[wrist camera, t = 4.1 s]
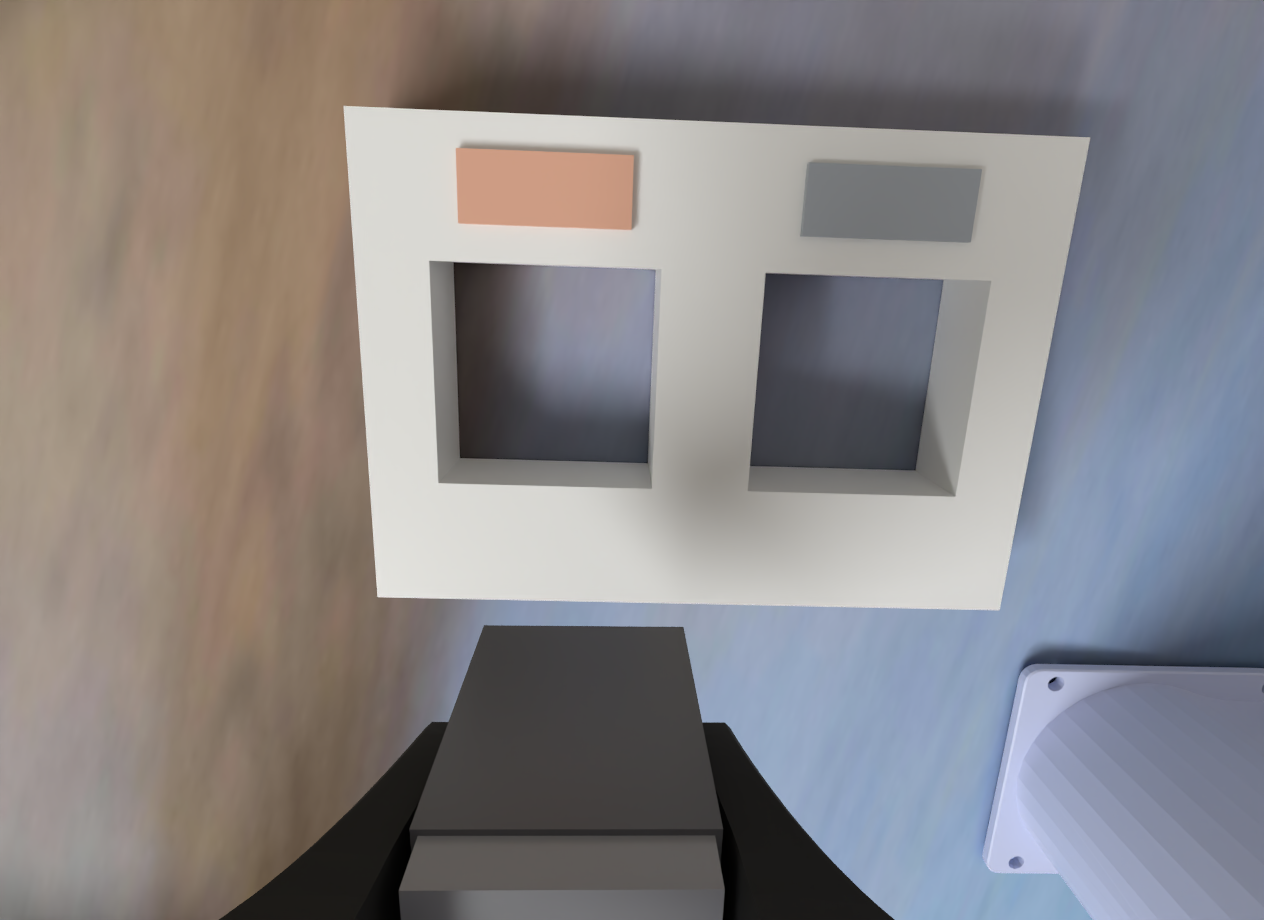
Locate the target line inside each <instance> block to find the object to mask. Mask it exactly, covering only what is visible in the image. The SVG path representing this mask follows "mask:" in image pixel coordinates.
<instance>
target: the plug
mask: <svg viewBox="0 0 1264 920" xmlns="http://www.w3.org/2000/svg"><path fill="white" fill-rule="evenodd" d="M409 833H410V846H411V857H410V859H409V862H408V865H407V868H406V871H405V874H404V877H403V880H402V882H401V885H400V888H399V902H400V914H401V920H723V907H724V893H725V888H724V882H723V877H722V871H721V853H722V839H723V826H722V821H721V815H720V810H719V805H718V800H717V795H716V790H715V785H714V780H713V775H712V770H711V765H710V760H709V755H708V750H707V745H706V740H705V735H704V729H703V724H702V719H701V714H700V709H699V704H698V699H697V694H696V689H695V684H694V679H693V674H692V669H691V664H690V659H689V654H688V649H687V643H686V638H685V633H684V628H683V627H611V626H487V625H484V627H483V630H482V633H481V635H480V638H479V641H478V643H477V646H476V649H475V652H474V654H473V657H472V660H471V663H470V665H469V668H468V671H467V673H466V676H465V679H464V682H463V684H462V687H461V690H460V693H459V695H458V698H457V701H456V703H455V706H454V709H453V712H452V714H451V717H450V720H449V722H448V725H447V728H446V731H445V733H444V736H443V739H442V742H441V744H440V747H439V750H438V752H437V755H436V758H435V761H434V763H433V766H432V769H431V772H430V774H429V777H428V780H427V782H426V785H425V788H424V791H423V793H422V796H421V799H420V802H419V804H418V807H417V810H416V812H415V815H414V818H413V821H412V823H411V826H410V829H409Z"/></svg>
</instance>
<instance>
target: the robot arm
mask: <svg viewBox="0 0 1264 920" xmlns="http://www.w3.org/2000/svg"><path fill="white" fill-rule="evenodd" d="M1054 677H1056V679H1055V681H1054V682H1052V683H1051V684H1048V683H1049V681H1050V680H1051V679H1052V678H1054ZM702 724H703V729H704V735H705V740H706V745H707V750H708V755H709V760H710V765H711V770H712V775H713V780H714V785H715V790H716V795H717V800H718V805H719V810H720V815H721V821H722V826H723V839H722V853H721V871H722V877H723V882H724V888H725V893H724V907H723V920H894V919H893V918H892V917H891V916H889V915H888V914H887V913H886V912H885V911H883V910H882V909H881V908H880V907H879V906H878V905H876V904H875V903H874V902H873V901H872V900H871V899H870V898H869V897H868V896H867V895H866V894H864V893H863V892H862V891H861V890H860V889H859V888H858V887H857V886H856V885H855V884H854V883H853V882H852V881H851V880H850V879H849V878H848V877H847V876H846V875H845V874H844V873H843V872H842V871H841V870H840V869H839V868H838V867H837V866H836V865H835V864H834V863H833V862H832V861H831V860H830V859H829V857H828V856H827V855H826V854H825V853H824V852H823V851H822V850H821V849H820V848H819V847H818V845H817V844H816V843H815V842H814V841H813V840H812V838H811V837H810V836H809V835H808V834H807V833H806V832H805V830H804V829H803V828H802V827H801V826H800V825H799V823H798V822H797V821H796V820H795V819H794V817H793V816H792V815H791V814H790V812H789V811H788V810H787V809H786V807H785V806H784V805H783V803H782V802H781V801H780V800H779V798H778V797H777V796H776V794H775V793H774V792H773V790H772V789H771V788H770V787H769V785H768V784H767V782H766V781H765V780H764V778H763V777H762V776H761V774H760V773H759V771H758V770H757V769H756V767H755V766H754V764H753V763H752V761H751V760H750V758H749V757H748V755H747V754H746V752H745V751H744V749H743V748H742V746H741V745H740V743H739V742H738V740H737V738H736V737H735V735H734V734H733V732H732V730H731V729H730V728H729V727H728V725H727V724H726V723H702ZM447 725H448V722H432V723H431V724H430V725H428V726H427V727H426V728H425V729H424V731H423V732H422V733H421V734H420V735H419V736H418V737H417V738H416V740H415V741H414V742H413V743H412V744H411V745H410V746H409V748H408V749H407V750H406V751H405V752H404V753H403V754H402V755H401V757H400V758H399V759H398V760H397V761H396V762H395V763H394V764H393V765H392V766H391V768H390V769H389V770H388V771H387V772H386V773H385V774H384V775H383V776H382V777H381V778H380V779H379V780H378V782H377V783H376V784H375V785H374V786H373V787H372V788H371V789H370V790H369V791H368V792H367V793H366V794H365V795H364V796H363V797H362V798H361V799H360V800H359V801H358V802H357V804H356V805H355V806H354V807H353V808H352V809H351V810H350V811H349V812H348V813H346V814H345V815H344V816H343V817H342V818H341V819H340V820H339V821H338V822H337V823H336V824H335V825H334V826H333V827H332V828H331V829H330V830H329V831H328V832H327V833H325V834H324V835H323V836H322V837H321V838H320V839H319V840H318V841H317V842H316V843H315V844H314V845H313V846H312V847H311V848H309V849H308V850H307V851H306V852H305V853H304V854H303V855H301V856H300V857H299V858H298V859H297V860H296V861H295V862H293V863H292V864H291V865H290V866H289V867H288V868H286V869H285V870H284V871H283V872H282V873H280V874H279V875H278V876H277V877H275V878H274V879H273V880H272V881H271V882H269V883H268V884H267V885H266V886H264V887H263V888H262V889H260V890H259V891H258V892H257V893H255V894H254V895H253V896H251V897H250V898H249V899H247V900H246V901H244V902H243V903H242V904H240V905H239V906H237V907H236V908H235V909H233V910H232V911H230V912H229V913H228V914H226V915H225V916H224V917H222V918H221V919H219V920H401V914H400V902H399V888H400V885H401V882H402V880H403V877H404V874H405V871H406V868H407V865H408V862H409V859H410V857H411V846H410V833H409V829H410V826H411V823H412V821H413V818H414V815H415V812H416V810H417V807H418V804H419V802H420V799H421V796H422V793H423V791H424V788H425V785H426V782H427V780H428V777H429V774H430V772H431V769H432V766H433V763H434V761H435V758H436V755H437V752H438V750H439V747H440V744H441V742H442V739H443V736H444V733H445V731H446V728H447ZM1013 857H1014V858H1013ZM1012 858H1013V859H1012ZM983 860H984V862H985V863H986V865H987V866H988V868H989V870H991V871H993V872H996V873H1050V874H1060V876H1061V877H1062V878H1063V880H1064V881H1065V882H1066V884H1067V885H1068V886H1069V888H1070V889H1071V890H1072V892H1073V893H1074V895H1075V896H1076V897H1077V899H1078V900H1079V901H1080V903H1081V904H1082V905H1083V907H1084V908H1085V909H1086V911H1087V912H1088V913H1089V915H1090V916H1091V918H1092V919H1093V920H1264V668H1233V667H1180V666H1127V665H1074V664H1033V665H1030V666H1028V667H1026V668H1025V669H1024V670H1023V671H1022V672H1021V674H1020V676H1019V680H1018V684H1017V689H1016V694H1015V699H1014V704H1013V709H1012V714H1011V718H1010V723H1009V728H1008V733H1007V738H1006V743H1005V747H1004V752H1003V757H1002V762H1001V767H1000V772H999V777H998V781H997V786H996V791H995V796H994V801H993V806H992V810H991V815H990V820H989V825H988V830H987V835H986V839H985V844H984V849H983Z"/></svg>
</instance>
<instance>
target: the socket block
mask: <svg viewBox="0 0 1264 920" xmlns="http://www.w3.org/2000/svg"><path fill="white" fill-rule="evenodd" d="M344 119H345V133H346V148H347V162H348V177H349V191H350V206H351V220H352V235H353V249H354V263H355V278H356V292H357V307H358V321H359V336H360V350H361V365H362V379H363V393H364V408H365V422H366V437H367V451H368V466H369V480H370V495H371V509H372V524H373V538H374V552H375V567H376V581H377V596H378V597H395V598H442V599H490V600H537V601H584V602H632V603H679V604H726V605H774V606H821V607H868V608H916V609H963V610H1000V605H1001V600H1002V594H1003V589H1004V584H1005V579H1006V574H1007V568H1008V563H1009V558H1010V553H1011V548H1012V542H1013V537H1014V532H1015V527H1016V522H1017V516H1018V511H1019V506H1020V501H1021V496H1022V490H1023V485H1024V480H1025V475H1026V470H1027V464H1028V459H1029V454H1030V449H1031V444H1032V438H1033V433H1034V428H1035V423H1036V418H1037V412H1038V407H1039V402H1040V397H1041V392H1042V386H1043V381H1044V376H1045V371H1046V366H1047V360H1048V355H1049V350H1050V345H1051V340H1052V334H1053V329H1054V324H1055V319H1056V314H1057V308H1058V303H1059V298H1060V293H1061V288H1062V282H1063V277H1064V272H1065V267H1066V262H1067V256H1068V251H1069V246H1070V241H1071V236H1072V230H1073V225H1074V220H1075V215H1076V210H1077V204H1078V199H1079V194H1080V189H1081V184H1082V179H1083V173H1084V168H1085V163H1086V158H1087V153H1088V147H1089V142H1090V137H1066V136H1042V135H1018V134H995V133H971V132H947V131H924V130H900V129H876V128H853V127H829V126H805V125H781V124H758V123H734V122H710V121H687V120H663V119H639V118H615V117H592V116H568V115H544V114H521V113H497V112H473V111H449V110H426V109H402V108H378V107H355V106H344ZM454 262H455V263H483V264H511V265H539V266H567V267H595V268H623V269H651V270H656V276H655V300H654V324H653V348H652V372H651V396H650V420H649V444H648V463H622V462H585V461H549V460H512V459H475V458H460V445H459V415H458V384H457V354H456V323H455V293H454ZM765 274H791V275H820V276H848V277H876V278H904V279H932V280H944V281H943V288H942V295H941V302H940V308H939V315H938V322H937V329H936V335H935V342H934V349H933V356H932V362H931V369H930V376H929V383H928V389H927V396H926V403H925V409H924V416H923V423H922V430H921V436H920V443H919V450H918V457H917V463H916V470H880V469H843V468H806V467H769V466H750V457H751V445H752V433H753V420H754V408H755V396H756V384H757V372H758V360H759V347H760V335H761V323H762V311H763V299H764V287H765Z"/></svg>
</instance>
